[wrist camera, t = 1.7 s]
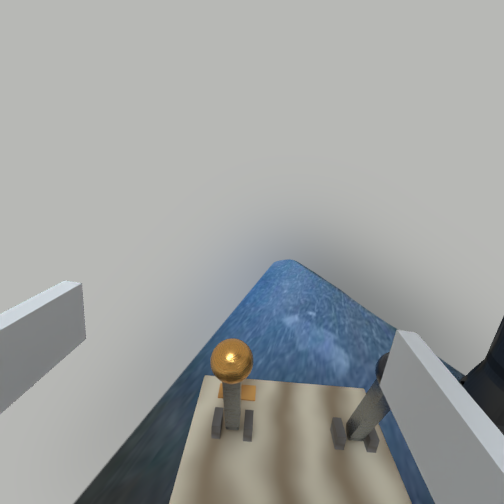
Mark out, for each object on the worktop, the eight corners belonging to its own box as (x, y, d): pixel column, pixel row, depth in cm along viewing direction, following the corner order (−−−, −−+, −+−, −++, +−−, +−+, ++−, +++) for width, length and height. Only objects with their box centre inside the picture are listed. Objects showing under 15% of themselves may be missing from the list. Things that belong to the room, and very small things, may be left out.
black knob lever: (364, 418, 33) (421, 344, 23) (372, 454, 31) (441, 388, 20) (334, 415, 34) (378, 341, 23) (339, 451, 31) (392, 384, 20)
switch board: (361, 399, 40) (366, 377, 39) (418, 546, 25) (430, 519, 24) (204, 386, 41) (204, 364, 39) (168, 521, 26) (166, 493, 24)
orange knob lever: (249, 408, 34) (255, 331, 24) (247, 442, 31) (252, 372, 21) (220, 406, 34) (213, 328, 24) (215, 440, 31) (205, 368, 21)
